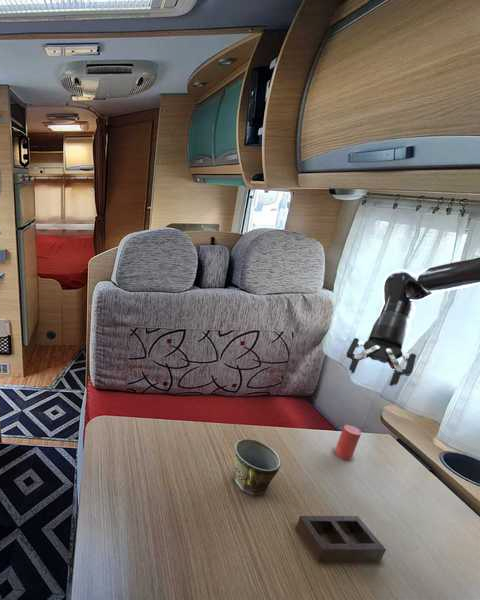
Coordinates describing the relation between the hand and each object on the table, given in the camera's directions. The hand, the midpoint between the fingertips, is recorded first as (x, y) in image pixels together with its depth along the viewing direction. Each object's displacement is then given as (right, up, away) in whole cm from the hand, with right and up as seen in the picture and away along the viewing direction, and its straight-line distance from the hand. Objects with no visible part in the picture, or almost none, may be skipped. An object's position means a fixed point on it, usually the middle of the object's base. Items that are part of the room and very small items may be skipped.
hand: (371, 378), depth 93 cm
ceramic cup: (-41, -25, -11) cm, 49 cm away
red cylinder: (-9, -22, -1) cm, 23 cm away
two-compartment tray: (-29, -30, -24) cm, 48 cm away
